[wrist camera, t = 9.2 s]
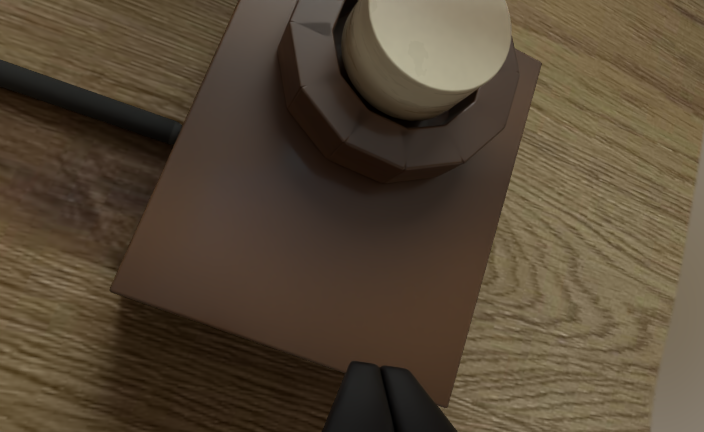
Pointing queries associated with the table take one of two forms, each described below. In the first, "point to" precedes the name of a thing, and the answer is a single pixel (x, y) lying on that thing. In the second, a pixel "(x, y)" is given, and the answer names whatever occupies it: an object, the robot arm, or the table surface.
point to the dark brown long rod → (88, 103)
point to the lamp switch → (423, 52)
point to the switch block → (327, 202)
